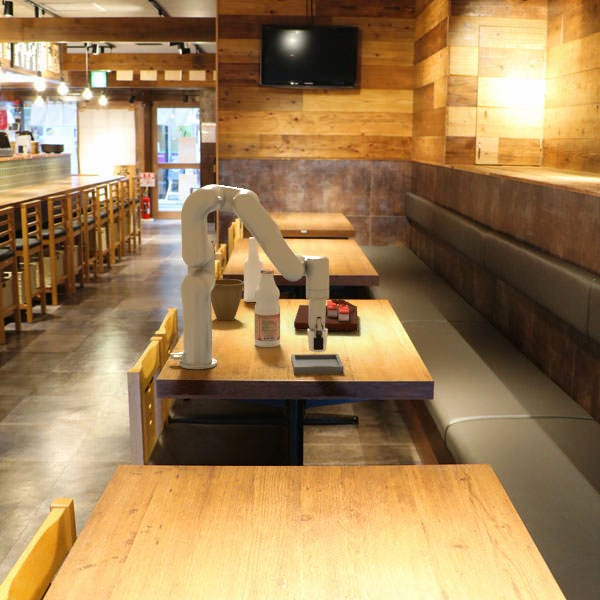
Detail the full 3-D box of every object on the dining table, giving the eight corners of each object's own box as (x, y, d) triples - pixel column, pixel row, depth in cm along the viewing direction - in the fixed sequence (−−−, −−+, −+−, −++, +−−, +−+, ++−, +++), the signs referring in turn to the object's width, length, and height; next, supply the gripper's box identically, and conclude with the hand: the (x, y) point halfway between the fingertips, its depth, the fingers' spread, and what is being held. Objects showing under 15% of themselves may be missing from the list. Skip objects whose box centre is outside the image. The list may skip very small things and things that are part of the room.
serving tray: (294, 374, 269) (294, 367, 268) (291, 361, 284) (291, 354, 284) (343, 373, 270) (343, 366, 269) (337, 361, 285) (338, 353, 285)
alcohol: (265, 300, 392) (265, 236, 386) (260, 303, 383) (259, 238, 377) (247, 299, 394) (246, 236, 388) (241, 302, 385) (241, 238, 379)
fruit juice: (249, 344, 307) (248, 269, 302) (266, 340, 314) (266, 266, 309) (267, 349, 301) (267, 272, 295) (285, 344, 308) (285, 269, 302)
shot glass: (315, 346, 281) (315, 326, 279) (332, 349, 276) (332, 328, 275) (303, 350, 275) (303, 329, 274) (319, 353, 271) (319, 332, 270)
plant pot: (217, 324, 340) (217, 285, 337) (202, 317, 353) (202, 280, 350) (249, 320, 348) (249, 282, 345) (234, 314, 360) (234, 277, 357)
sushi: (356, 316, 360) (357, 289, 357) (357, 335, 325) (357, 305, 323) (299, 315, 361) (299, 287, 359) (293, 333, 327) (294, 303, 324)
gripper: (304, 289, 281) (304, 341, 284) (308, 298, 264) (308, 353, 267) (326, 288, 281) (326, 340, 284) (331, 298, 264) (331, 353, 267)
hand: (317, 346), depth 276 cm, fingers closed on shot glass, 6 cm apart
